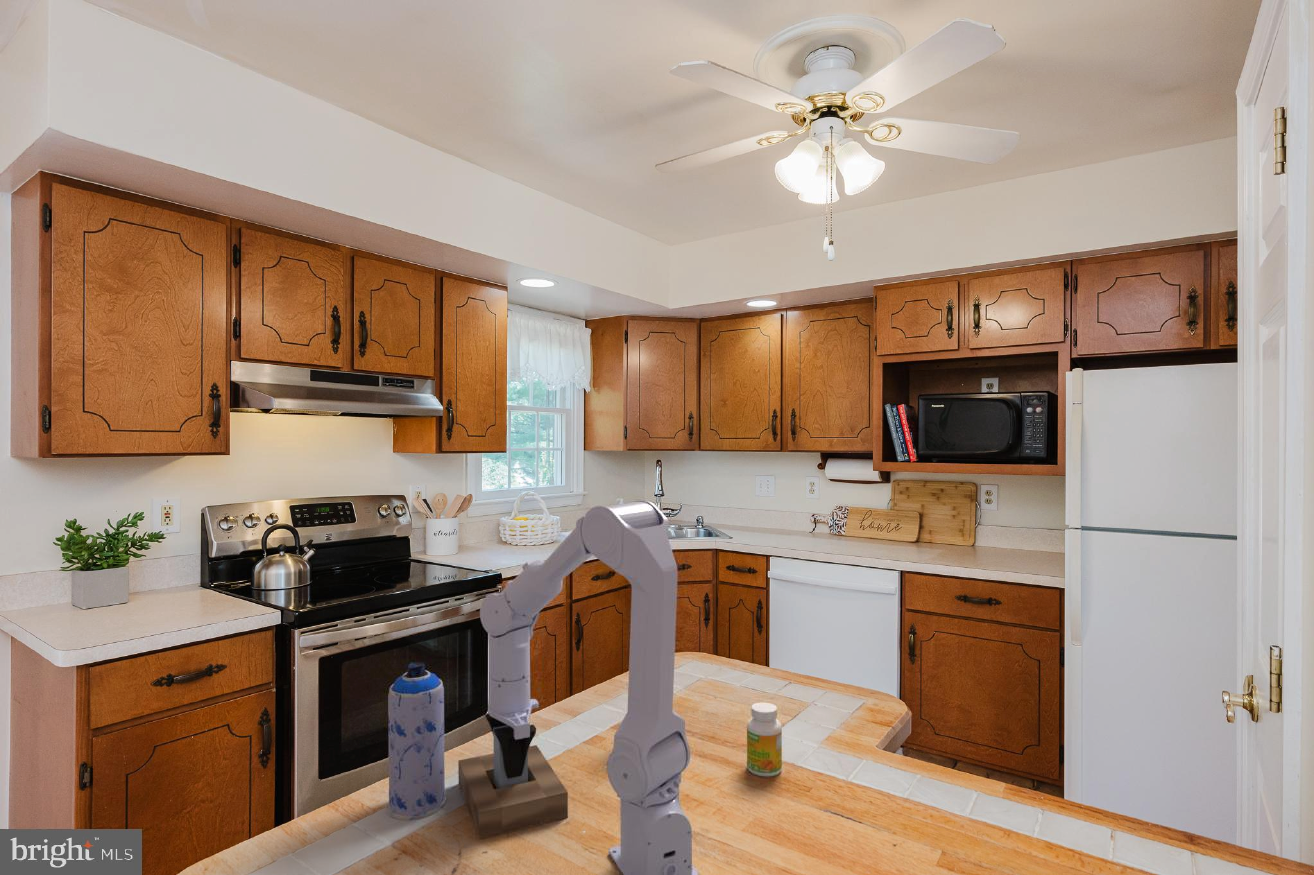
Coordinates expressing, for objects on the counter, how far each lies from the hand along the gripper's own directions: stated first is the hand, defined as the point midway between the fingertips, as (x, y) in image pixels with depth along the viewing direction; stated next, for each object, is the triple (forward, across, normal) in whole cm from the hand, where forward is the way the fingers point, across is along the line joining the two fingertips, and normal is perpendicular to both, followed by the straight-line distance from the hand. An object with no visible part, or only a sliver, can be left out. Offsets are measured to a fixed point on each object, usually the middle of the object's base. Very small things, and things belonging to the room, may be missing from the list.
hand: (510, 769), depth 101 cm
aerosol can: (+5, +4, +12) cm, 14 cm away
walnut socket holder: (+4, 0, 0) cm, 4 cm away
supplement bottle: (+5, -8, -38) cm, 39 cm away
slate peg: (+2, 0, 0) cm, 2 cm away
